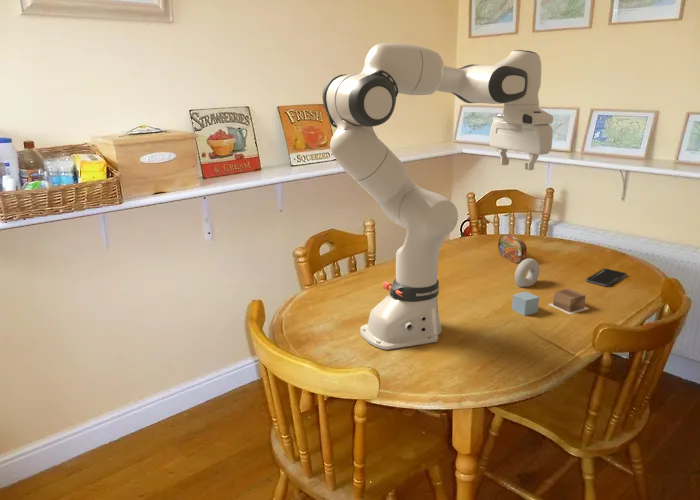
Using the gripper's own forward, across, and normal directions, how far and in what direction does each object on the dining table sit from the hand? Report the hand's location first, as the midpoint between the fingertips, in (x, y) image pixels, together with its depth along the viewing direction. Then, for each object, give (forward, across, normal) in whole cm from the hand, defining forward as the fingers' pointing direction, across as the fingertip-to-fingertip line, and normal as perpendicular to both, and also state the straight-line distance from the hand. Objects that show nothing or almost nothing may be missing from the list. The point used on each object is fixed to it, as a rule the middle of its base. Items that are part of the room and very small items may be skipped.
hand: (516, 167), depth 151 cm
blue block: (+42, +6, +1) cm, 42 cm away
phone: (+42, -1, +45) cm, 62 cm away
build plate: (+42, +10, +14) cm, 45 cm away
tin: (+42, -32, +32) cm, 62 cm away
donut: (+42, -8, +16) cm, 46 cm away
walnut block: (+40, +10, +14) cm, 44 cm away
